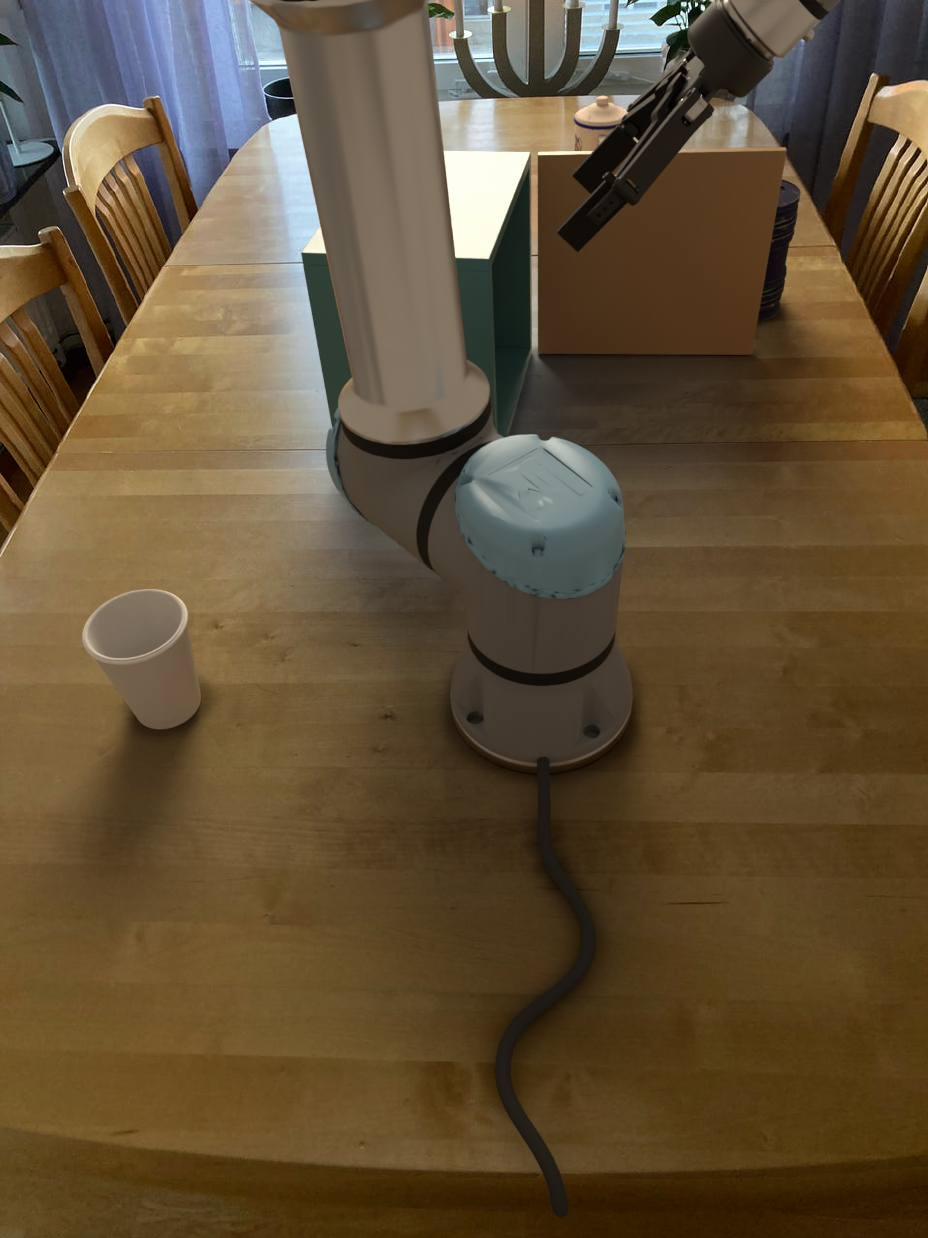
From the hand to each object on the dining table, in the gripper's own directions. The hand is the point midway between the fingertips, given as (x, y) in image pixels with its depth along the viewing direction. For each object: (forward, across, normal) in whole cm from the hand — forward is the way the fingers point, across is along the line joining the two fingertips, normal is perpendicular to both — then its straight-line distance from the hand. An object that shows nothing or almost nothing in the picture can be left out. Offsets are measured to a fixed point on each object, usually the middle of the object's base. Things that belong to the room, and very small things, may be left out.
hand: (574, 211), depth 95 cm
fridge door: (+13, +18, -22) cm, 31 cm away
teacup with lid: (+20, +73, -14) cm, 77 cm away
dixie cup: (+38, -48, +6) cm, 61 cm away
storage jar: (+4, +29, -31) cm, 43 cm away
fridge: (+28, +1, -5) cm, 29 cm away
